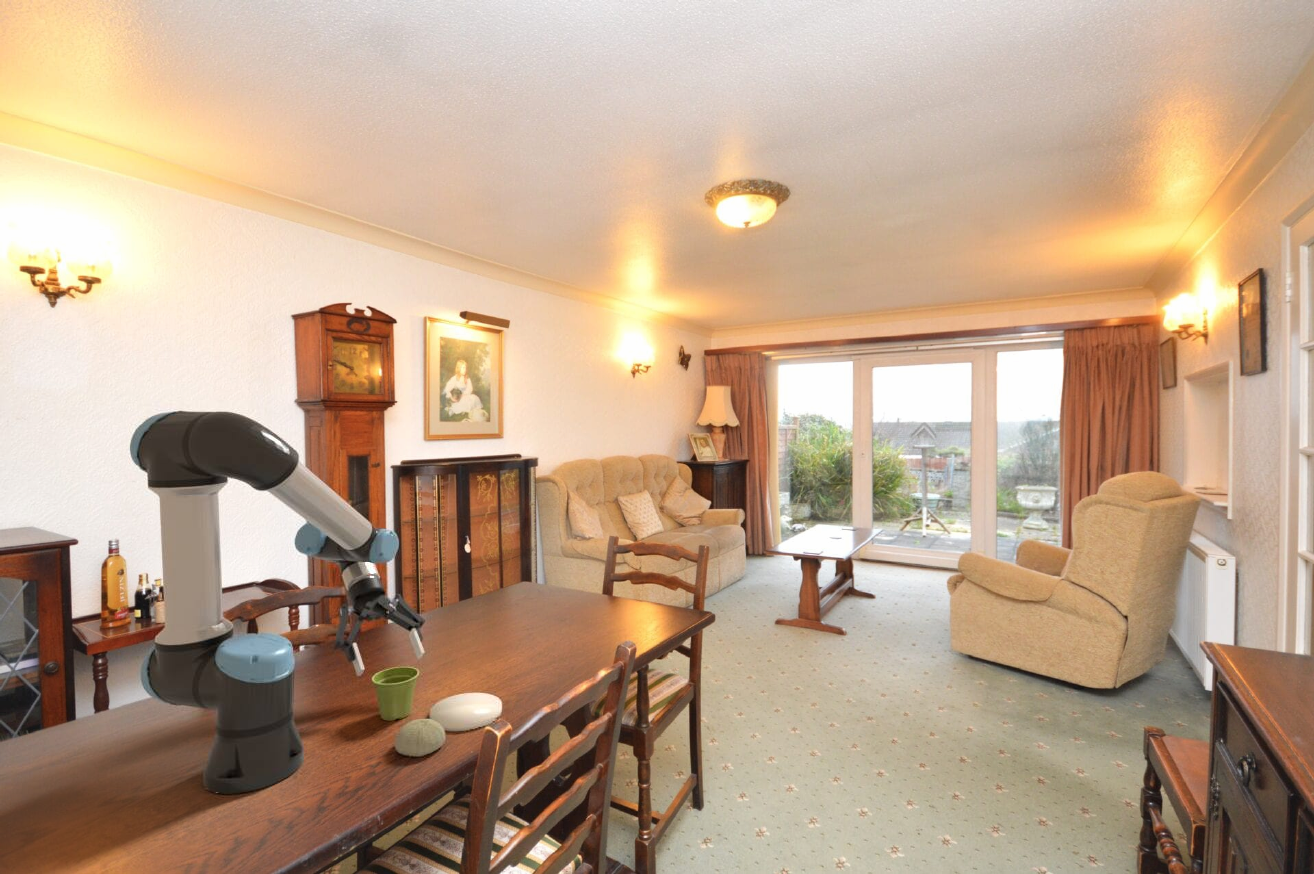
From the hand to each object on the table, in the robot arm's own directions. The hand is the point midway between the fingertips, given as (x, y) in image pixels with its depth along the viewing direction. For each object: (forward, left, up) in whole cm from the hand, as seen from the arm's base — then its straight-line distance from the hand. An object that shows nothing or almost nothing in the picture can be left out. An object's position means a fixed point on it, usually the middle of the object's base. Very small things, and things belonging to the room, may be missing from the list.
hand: (392, 664), depth 136 cm
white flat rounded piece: (+9, -16, -9) cm, 21 cm away
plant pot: (-1, -5, -10) cm, 11 cm away
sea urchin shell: (-4, -22, -10) cm, 24 cm away
